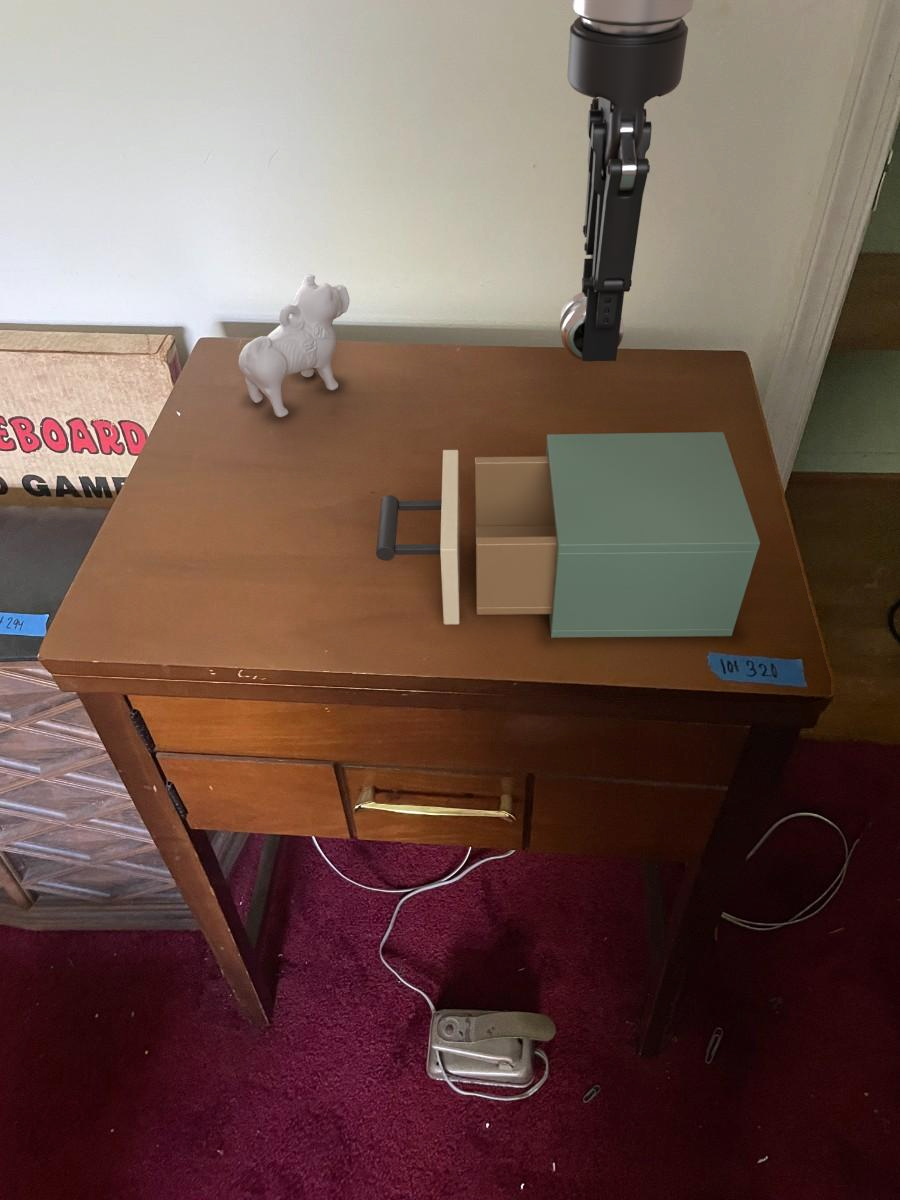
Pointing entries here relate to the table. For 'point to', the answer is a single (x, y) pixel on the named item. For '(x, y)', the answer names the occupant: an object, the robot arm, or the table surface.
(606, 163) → the robot arm
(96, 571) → the table surface
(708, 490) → the cabinet
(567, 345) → the metal grooved wheel
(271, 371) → the dog figurine
